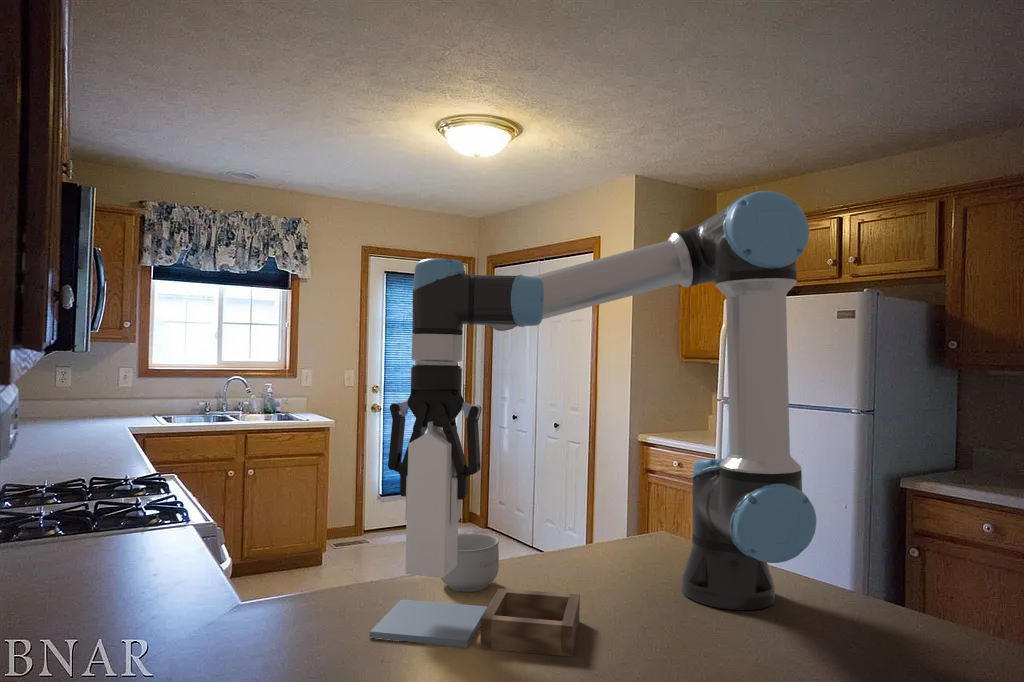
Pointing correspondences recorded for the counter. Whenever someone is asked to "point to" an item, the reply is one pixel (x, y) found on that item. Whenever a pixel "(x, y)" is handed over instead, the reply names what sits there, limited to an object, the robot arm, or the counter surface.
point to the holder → (531, 622)
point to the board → (430, 623)
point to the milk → (430, 506)
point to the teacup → (474, 562)
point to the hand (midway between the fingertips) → (433, 519)
